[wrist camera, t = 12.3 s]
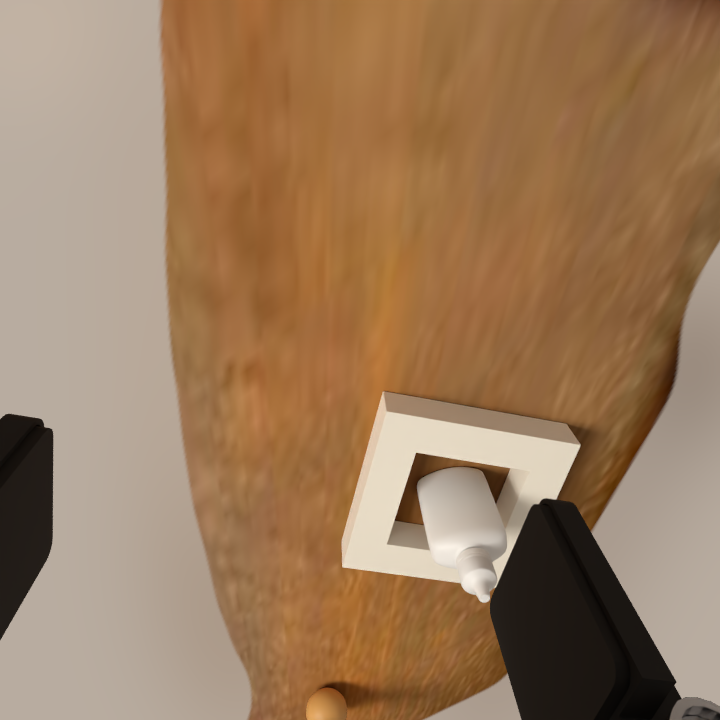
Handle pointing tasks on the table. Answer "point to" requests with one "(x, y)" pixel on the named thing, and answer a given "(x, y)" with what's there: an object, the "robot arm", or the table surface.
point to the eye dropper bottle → (463, 526)
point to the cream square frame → (457, 441)
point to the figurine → (326, 705)
